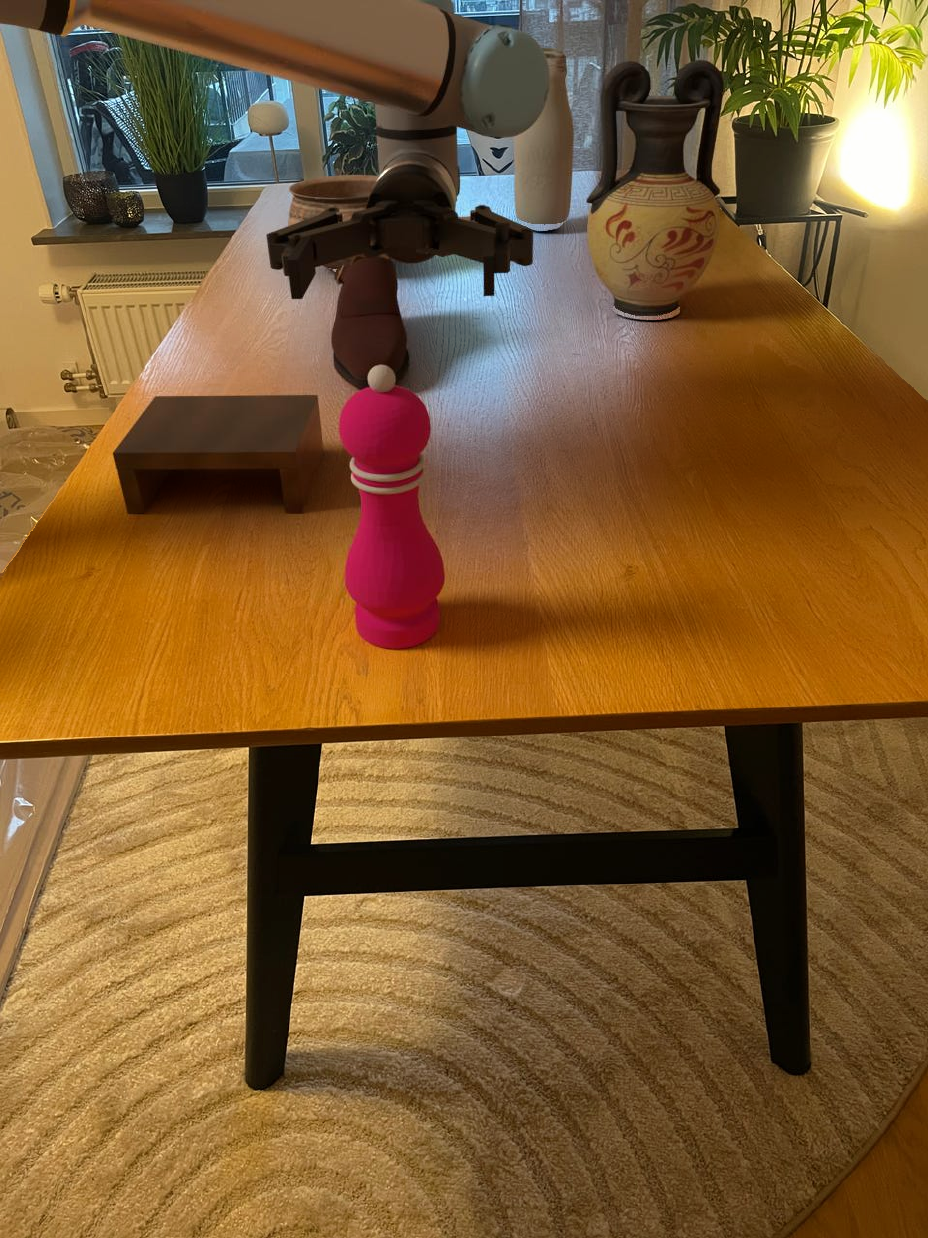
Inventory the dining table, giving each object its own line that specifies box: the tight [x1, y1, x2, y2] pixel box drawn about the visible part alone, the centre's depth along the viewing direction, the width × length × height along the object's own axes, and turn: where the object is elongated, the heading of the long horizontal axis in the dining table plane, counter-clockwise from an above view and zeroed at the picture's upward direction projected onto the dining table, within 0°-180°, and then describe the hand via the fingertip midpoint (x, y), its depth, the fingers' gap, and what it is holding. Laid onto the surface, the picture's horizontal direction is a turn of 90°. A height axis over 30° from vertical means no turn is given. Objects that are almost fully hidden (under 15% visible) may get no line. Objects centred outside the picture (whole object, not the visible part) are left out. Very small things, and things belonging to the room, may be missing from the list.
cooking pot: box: [287, 174, 379, 269], centre depth 150 cm, size 25×19×12 cm
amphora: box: [586, 59, 725, 316], centre depth 125 cm, size 18×17×30 cm
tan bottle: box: [513, 47, 575, 225], centre depth 164 cm, size 10×10×28 cm
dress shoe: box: [330, 244, 410, 388], centre depth 117 cm, size 9×28×12 cm, turn 5°
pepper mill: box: [338, 365, 446, 650], centre depth 67 cm, size 7×7×20 cm
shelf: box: [112, 394, 325, 515], centre depth 91 cm, size 16×13×6 cm
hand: (391, 278), depth 68 cm, fingers open, 13 cm apart
